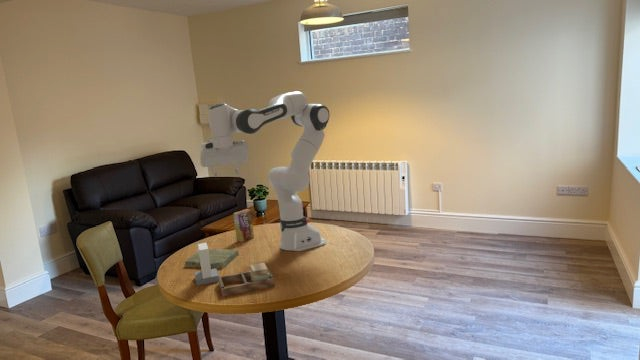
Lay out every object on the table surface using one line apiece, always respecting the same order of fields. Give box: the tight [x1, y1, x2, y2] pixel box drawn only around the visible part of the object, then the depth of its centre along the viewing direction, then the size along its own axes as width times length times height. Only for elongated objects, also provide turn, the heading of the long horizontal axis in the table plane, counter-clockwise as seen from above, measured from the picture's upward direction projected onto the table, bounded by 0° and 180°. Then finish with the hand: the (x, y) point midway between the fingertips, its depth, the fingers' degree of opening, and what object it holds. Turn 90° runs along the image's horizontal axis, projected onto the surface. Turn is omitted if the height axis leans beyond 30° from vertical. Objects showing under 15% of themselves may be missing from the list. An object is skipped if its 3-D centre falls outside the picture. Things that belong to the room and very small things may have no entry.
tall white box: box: [197, 242, 212, 278], centre depth 188 cm, size 4×9×12 cm, turn 19°
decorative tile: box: [183, 248, 240, 269], centre depth 211 cm, size 19×20×4 cm
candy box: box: [232, 208, 255, 243], centre depth 239 cm, size 9×4×15 cm, turn 140°
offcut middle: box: [249, 270, 270, 282], centre depth 181 cm, size 6×8×2 cm
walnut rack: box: [218, 267, 275, 297], centre depth 180 cm, size 20×13×4 cm, turn 109°
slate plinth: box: [194, 268, 220, 287], centre depth 189 cm, size 9×9×2 cm
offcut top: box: [250, 262, 268, 277], centre depth 181 cm, size 6×8×2 cm
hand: (226, 174), depth 195 cm, fingers open, 8 cm apart
